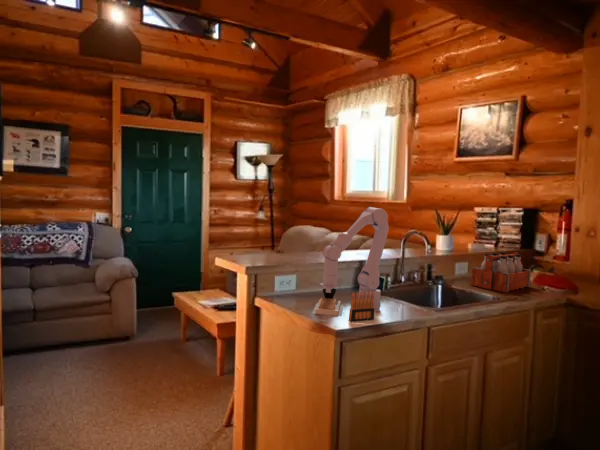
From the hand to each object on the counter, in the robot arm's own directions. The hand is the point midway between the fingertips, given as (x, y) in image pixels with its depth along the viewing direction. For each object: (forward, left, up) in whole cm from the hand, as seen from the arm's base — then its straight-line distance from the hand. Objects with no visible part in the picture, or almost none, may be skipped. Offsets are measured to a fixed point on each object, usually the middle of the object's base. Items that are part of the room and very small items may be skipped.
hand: (328, 305), depth 202 cm
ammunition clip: (-14, +12, -2) cm, 19 cm away
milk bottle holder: (-93, -88, -2) cm, 128 cm away
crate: (0, +5, -1) cm, 5 cm away
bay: (0, 0, -2) cm, 2 cm away
